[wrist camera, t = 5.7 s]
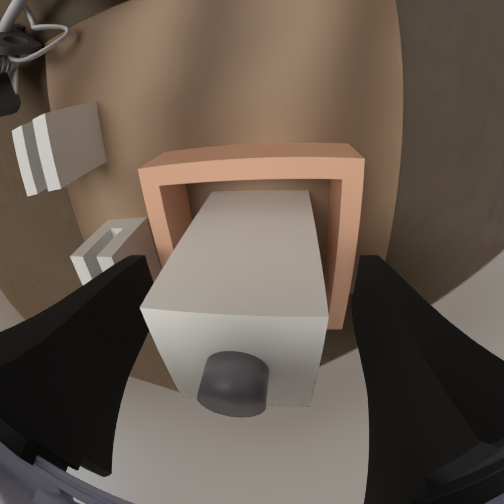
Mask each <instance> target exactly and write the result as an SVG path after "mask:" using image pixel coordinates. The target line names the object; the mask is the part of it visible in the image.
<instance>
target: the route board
mask: <svg viewBox="0 0 504 504" xmlns="http://www.w3.org/2000/svg"><path fill="white" fill-rule="evenodd" d="M69 29H70V34H69V36H68V37H67V38H66V39H65V40H64V41H63V42H61V43H60V44H59V45H57V46H56V47H54V48H53V49H51V50H50V51H48V52H46V53H45V61H46V76H47V87H48V96H49V104H50V111H51V112H52V111H55V110H59V109H63V108H67V107H71V106H76V105H80V104H85V103H90V102H95V101H97V108H98V114H99V121H100V127H101V132H102V138H103V143H104V148H105V153H106V158H107V162H106V163H104V164H102V165H100V166H99V167H97V168H95V169H93V170H91V171H90V172H88V173H86V174H84V175H83V176H81V177H79V178H78V179H76V180H74V181H73V182H71V183H69V184H68V185H66V186H67V190H68V193H69V197H70V200H71V203H72V207H73V210H74V213H75V216H76V219H77V222H78V225H79V228H80V231H81V234H82V237H83V239H84V242H85V241H86V240H87V239H88V238H89V237H90V236H91V235H92V234H93V233H94V232H95V231H97V230H98V229H99V228H100V227H101V226H102V225H103V224H104V223H105V222H106V221H107V220H114V219H128V218H144V217H147V220H148V224H149V228H150V232H151V235H152V239H153V243H154V246H155V250H156V254H157V257H158V260H159V264H160V267H161V270H162V269H163V268H162V265H161V262H160V258H159V255H158V251H157V248H156V244H155V240H154V236H153V233H152V229H151V225H150V221H149V217H148V213H147V209H146V205H145V200H144V196H143V192H142V187H141V183H140V178H139V173H138V168H140V167H141V166H143V165H145V164H146V163H148V162H149V161H151V160H153V159H154V158H156V157H158V156H159V155H161V154H163V153H164V152H168V151H176V150H184V149H193V148H202V147H213V146H225V145H239V144H258V143H346V144H349V145H350V146H352V147H353V148H354V149H355V150H356V151H357V152H358V153H359V154H360V155H361V156H362V157H364V158H365V164H364V180H363V193H362V204H361V214H360V223H359V232H358V240H357V247H356V255H355V261H354V268H353V274H352V280H351V286H350V292H349V294H353V292H354V287H355V282H356V276H357V270H358V264H359V258H360V255H378V256H379V257H381V258H382V259H383V260H384V261H386V256H387V251H388V246H389V241H390V235H391V230H392V224H393V218H394V211H395V205H396V197H397V189H398V181H399V172H400V161H401V148H402V130H403V67H402V51H401V39H400V29H399V21H398V14H397V7H396V1H395V0H129V1H126V2H124V3H121V4H119V5H117V6H114V7H112V8H109V9H107V10H105V11H103V12H101V13H98V14H96V15H94V16H92V17H90V18H88V19H86V20H84V21H82V22H80V23H78V24H76V25H75V26H73V27H71V28H69ZM65 32H66V31H64V32H62V33H60V34H59V35H57V36H55V37H54V38H52V39H51V40H49V41H47V42H46V43H45V47H46V46H48V45H49V44H51V43H52V42H54V41H55V40H57V39H58V38H60V37H61V36H62V35H63V34H64V33H65ZM186 187H187V193H188V199H189V205H190V210H191V216H192V221H193V219H194V218H195V216H196V215H197V213H198V212H199V210H200V209H201V207H202V206H203V204H204V203H205V201H206V200H207V198H208V197H209V196H210V194H211V193H212V192H219V191H260V190H304V191H309V196H310V201H311V206H312V211H313V216H314V222H315V227H316V233H317V239H318V245H319V251H320V257H321V264H322V270H323V277H324V274H325V263H326V251H327V238H328V222H329V202H330V179H257V180H232V181H214V182H199V183H186ZM161 270H160V272H161ZM160 272H159V273H158V275H159V274H160ZM158 275H157V277H158ZM157 277H156V278H155V280H156V279H157ZM155 280H154V282H155Z"/></svg>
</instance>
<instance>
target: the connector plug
mask: <svg viewBox="0 0 504 504" xmlns="http://www.w3.org/2000/svg"><path fill="white" fill-rule="evenodd" d="M140 310H141V312H142V314H143V317H144V319H145V322H146V324H147V326H148V328H149V331H150V333H151V335H152V337H153V340H154V342H155V344H156V346H157V348H158V350H159V353H160V355H161V357H162V359H163V361H164V363H165V365H166V367H167V369H168V371H169V373H170V375H171V377H172V379H173V381H174V383H175V385H176V386H177V388H178V390H179V392H180V394H181V396H183V397H188V398H195V399H198V401H199V403H200V404H201V405H203V406H204V407H205V408H207V409H209V410H211V411H213V412H215V413H218V414H222V415H226V416H231V417H252V416H256V415H259V414H261V413H262V412H263V411H264V410H265V409H266V406H293V407H295V406H298V407H307V406H310V404H311V399H312V396H313V391H314V387H315V383H316V378H317V374H318V370H319V365H320V360H321V356H322V351H323V346H324V341H325V335H326V330H327V324H328V319H329V314H328V306H327V299H326V291H325V284H324V277H323V270H322V264H321V257H320V251H319V245H318V239H317V233H316V227H315V222H314V216H313V211H312V206H311V201H310V196H309V191H304V190H260V191H219V192H212V193H211V194H210V196H209V197H208V198H207V200H206V201H205V203H204V204H203V206H202V207H201V209H200V210H199V212H198V213H197V215H196V216H195V218H194V219H193V221H192V223H191V224H190V226H189V227H188V229H187V230H186V232H185V233H184V235H183V236H182V238H181V240H180V241H179V243H178V244H177V246H176V248H175V249H174V251H173V252H172V254H171V256H170V257H169V259H168V260H167V262H166V264H165V265H164V267H163V269H162V270H161V272H160V274H159V275H158V277H157V279H156V280H155V282H154V284H153V285H152V287H151V289H150V291H149V292H148V294H147V296H146V297H145V299H144V301H143V303H142V304H141V306H140Z"/></svg>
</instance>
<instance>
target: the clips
mask: <svg viewBox="0 0 504 504" xmlns="http://www.w3.org/2000/svg"><path fill="white" fill-rule="evenodd" d="M12 134H13V140H14V145H15V150H16V154H17V159H18V163H19V167H20V171H21V175H22V179H23V182H24V186H25V189H26V193H27V196H31V195H35V194H38V193H40V192H41V191H43V190H45V189H46V188H48V191H53V190H57V189H61V188H63V187H65V186H66V185H68V184H69V183H71V182H73V181H74V180H76V179H78V178H79V177H81V176H83V175H84V174H86V173H88V172H90V171H91V170H93V169H95V168H97V167H99V166H100V165H102V164H104V163H106V162H107V158H106V153H105V148H104V143H103V138H102V132H101V127H100V121H99V114H98V108H97V101H95V102H90V103H85V104H80V105H76V106H71V107H67V108H63V109H59V110H55V111H52V112H48V113H45V114H43V115H40V116H39V117H37V118H35V119H33V122H30V123H27V124H24V125H22V126H20V127H18V128H16V129H14V130H13V131H12ZM130 255H145V257H146V260H147V263H148V266H149V269H150V272H151V276H152V279H153V282H154V280H155V278H156V277H157V275H158V273H159V272H160V270H161V267H160V264H159V260H158V257H157V254H156V250H155V246H154V243H153V239H152V235H151V232H150V228H149V224H148V220H147V217H144V218H128V219H114V220H107V221H106V222H105V223H104V224H103V225H102V226H101V227H100V228H99V229H98V230H97V231H95V232H94V233H93V234H92V235H91V236H90V237H89V238H88V239H87V240H86V241H85V242H84V243H83V244H82V245H81V246H80V247H79V248H78V249H77V250H76V251H75V252H74V253H73V254H72V255H71V256H70V257H71V260H72V262H73V264H74V267H75V269H76V271H77V273H78V276H79V278H80V280H81V282H82V284H83V285H85V284H86V283H88V282H89V281H90V280H92V279H93V278H95V277H96V276H98V275H99V274H101V273H102V272H104V271H105V270H107V269H108V268H110V267H111V266H113V265H114V264H116V263H117V262H119V261H121V260H122V259H124V258H126V257H128V256H130Z"/></svg>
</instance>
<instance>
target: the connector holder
mask: <svg viewBox="0 0 504 504" xmlns="http://www.w3.org/2000/svg"><path fill="white" fill-rule="evenodd" d="M364 164H365V158H364V157H362V156H361V155H360V154H359V153H358V152H357V151H356V150H355V149H354V148H353V147H352V146H350V145H349V144H346V143H258V144H239V145H225V146H213V147H202V148H193V149H184V150H176V151H168V152H164V153H163V154H161V155H159V156H158V157H156V158H154V159H153V160H151V161H149V162H148V163H146V164H145V165H143V166H141V167H140V168H138V173H139V178H140V183H141V187H142V192H143V196H144V200H145V205H146V209H147V213H148V217H149V221H150V225H151V229H152V233H153V236H154V240H155V244H156V248H157V251H158V255H159V258H160V262H161V265H162V268H163V267H164V265H165V264H166V262H167V260H168V259H169V257H170V256H171V254H172V252H173V251H174V249H175V248H176V246H177V244H178V243H179V241H180V240H181V238H182V236H183V235H184V233H185V232H186V230H187V229H188V227H189V226H190V224H191V223H192V216H191V210H190V205H189V199H188V193H187V187H186V183H199V182H214V181H232V180H257V179H330V202H329V222H328V238H327V251H326V263H325V274H324V284H325V291H326V299H327V306H328V314H329V319H328V324H327V329H342V327H343V323H344V318H345V313H346V308H347V303H348V297H349V292H350V286H351V280H352V274H353V268H354V261H355V255H356V247H357V240H358V232H359V223H360V214H361V204H362V193H363V180H364Z"/></svg>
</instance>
